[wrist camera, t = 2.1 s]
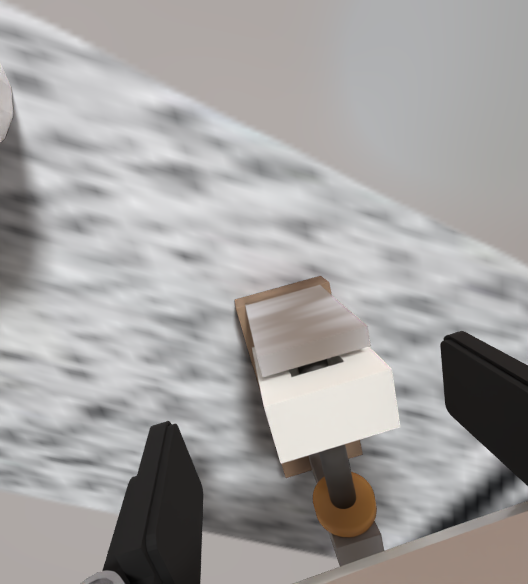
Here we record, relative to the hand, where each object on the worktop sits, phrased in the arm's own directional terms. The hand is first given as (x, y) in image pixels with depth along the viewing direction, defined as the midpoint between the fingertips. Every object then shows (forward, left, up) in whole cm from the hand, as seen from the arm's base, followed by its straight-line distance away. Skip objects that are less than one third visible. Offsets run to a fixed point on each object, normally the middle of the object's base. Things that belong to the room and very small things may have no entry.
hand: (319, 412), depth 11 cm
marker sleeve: (-1, 0, -4) cm, 4 cm away
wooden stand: (-1, +4, -8) cm, 9 cm away
